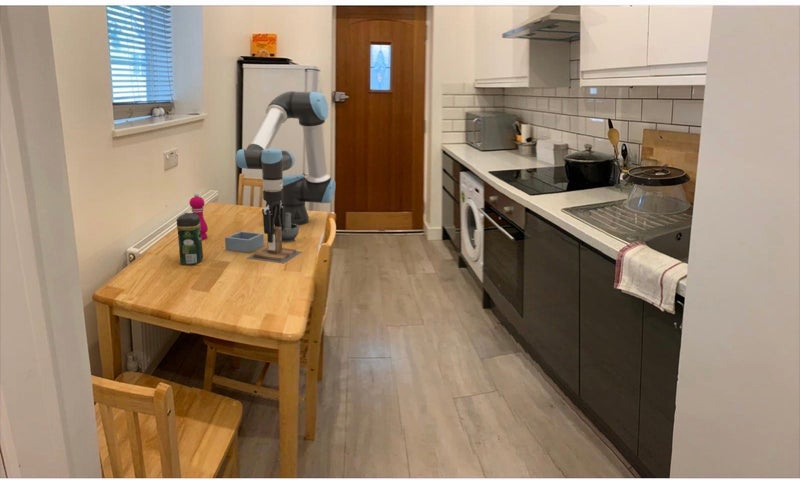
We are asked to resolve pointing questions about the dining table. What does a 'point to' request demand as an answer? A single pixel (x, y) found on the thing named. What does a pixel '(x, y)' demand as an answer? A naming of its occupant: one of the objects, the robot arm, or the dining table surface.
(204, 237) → the pepper mill
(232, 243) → the blue-grey square box
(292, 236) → the mortar and pestle
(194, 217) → the coffee jar
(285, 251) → the lid
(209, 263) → the dining table surface
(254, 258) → the mat
